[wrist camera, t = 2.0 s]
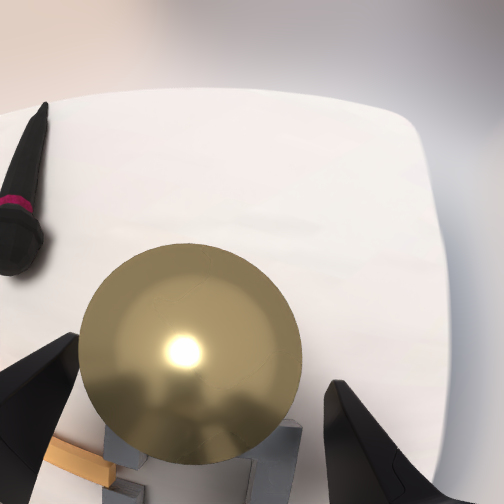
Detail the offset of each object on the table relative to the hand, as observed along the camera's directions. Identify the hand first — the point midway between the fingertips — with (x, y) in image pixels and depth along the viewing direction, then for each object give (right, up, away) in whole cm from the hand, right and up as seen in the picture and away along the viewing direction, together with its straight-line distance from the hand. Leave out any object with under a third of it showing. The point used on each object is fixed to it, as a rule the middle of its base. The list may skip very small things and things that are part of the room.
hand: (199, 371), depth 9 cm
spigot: (-1, -2, +8) cm, 9 cm away
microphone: (-17, +10, +12) cm, 23 cm away
